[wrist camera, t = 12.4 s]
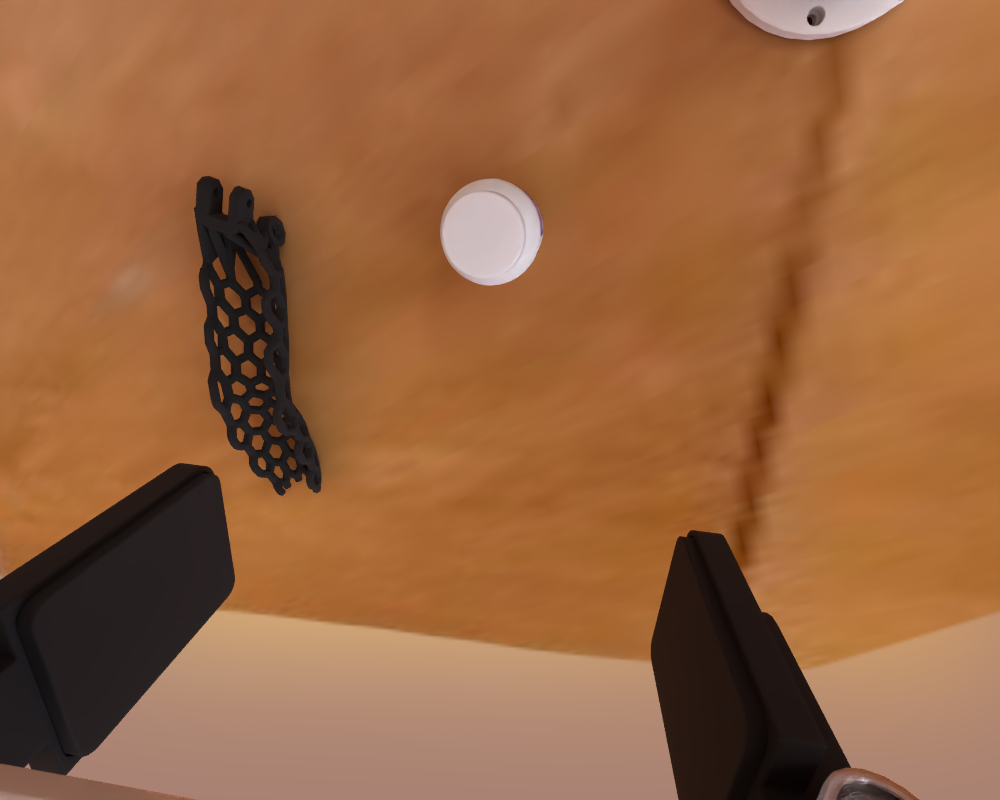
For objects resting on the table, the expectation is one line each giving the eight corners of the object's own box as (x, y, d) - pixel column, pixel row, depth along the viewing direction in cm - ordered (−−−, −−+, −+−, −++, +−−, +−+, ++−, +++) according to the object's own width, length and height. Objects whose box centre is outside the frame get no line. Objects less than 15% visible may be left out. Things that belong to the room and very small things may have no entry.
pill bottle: (465, 181, 31) (429, 165, 22) (549, 190, 31) (546, 178, 22) (458, 268, 33) (423, 285, 24) (537, 278, 33) (530, 299, 24)
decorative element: (340, 481, 40) (307, 522, 34) (281, 481, 41) (239, 522, 35) (282, 178, 33) (228, 169, 27) (210, 184, 33) (143, 176, 28)
